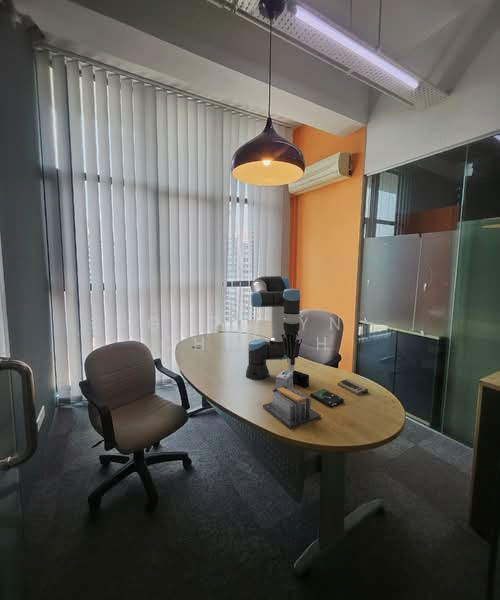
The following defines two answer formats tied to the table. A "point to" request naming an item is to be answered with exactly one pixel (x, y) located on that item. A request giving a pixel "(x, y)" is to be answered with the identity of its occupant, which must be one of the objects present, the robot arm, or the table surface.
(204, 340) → the table surface
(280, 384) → the light bulb box
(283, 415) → the heatsink base
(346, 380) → the computer
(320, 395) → the disk drive
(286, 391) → the latch bar
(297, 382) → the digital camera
